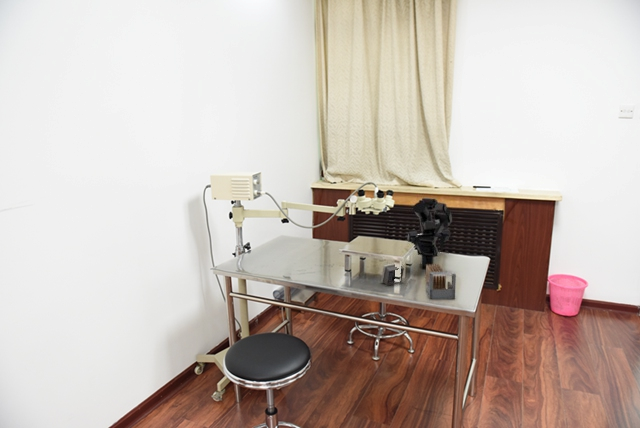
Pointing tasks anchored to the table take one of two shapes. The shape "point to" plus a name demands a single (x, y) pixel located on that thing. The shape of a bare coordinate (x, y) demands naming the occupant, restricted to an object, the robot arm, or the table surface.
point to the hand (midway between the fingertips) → (431, 252)
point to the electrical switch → (390, 273)
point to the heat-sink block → (438, 281)
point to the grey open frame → (441, 293)
